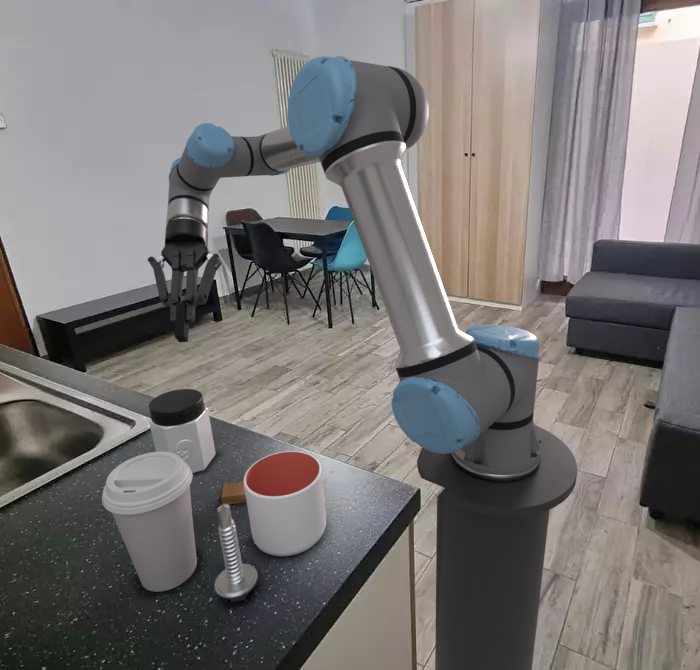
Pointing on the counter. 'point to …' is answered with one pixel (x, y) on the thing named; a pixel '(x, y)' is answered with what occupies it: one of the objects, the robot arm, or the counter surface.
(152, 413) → the jar
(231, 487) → the brown wooden bar
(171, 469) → the coffee cup
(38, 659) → the counter surface
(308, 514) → the cup
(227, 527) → the screw
